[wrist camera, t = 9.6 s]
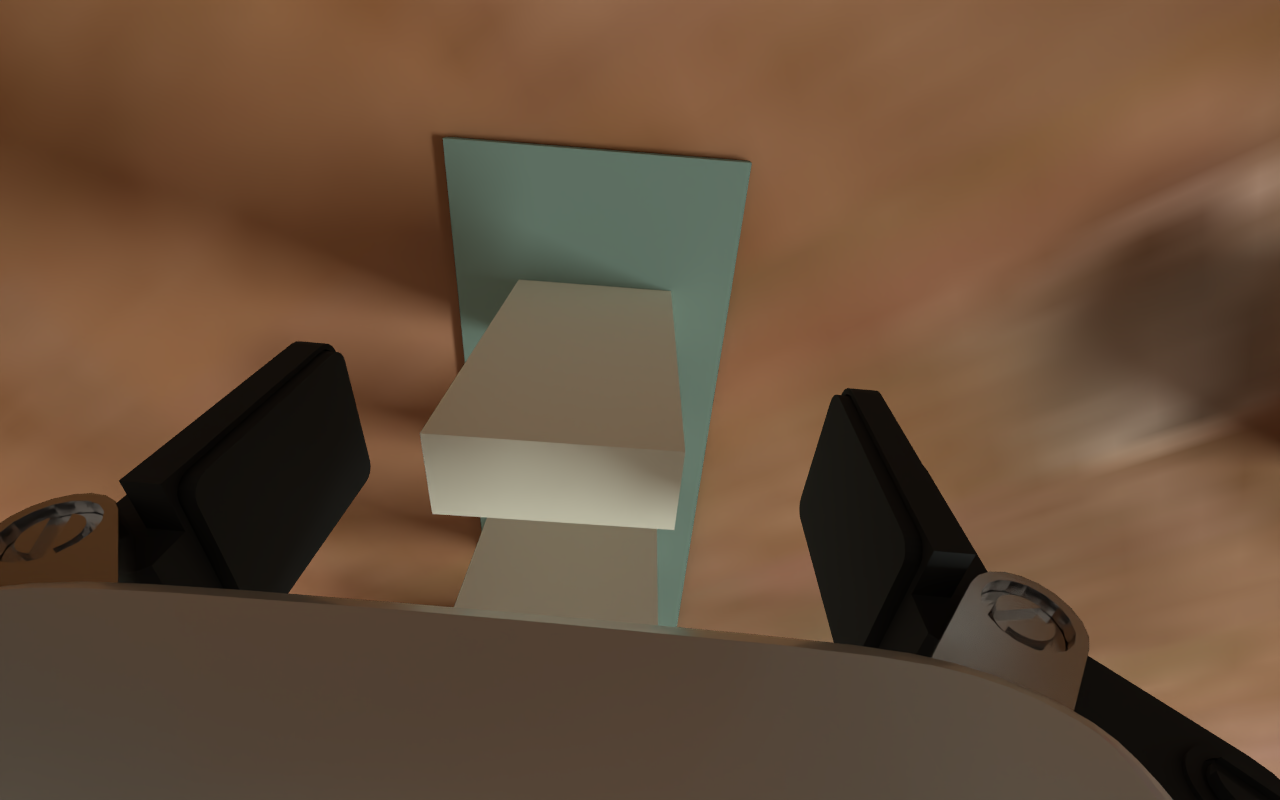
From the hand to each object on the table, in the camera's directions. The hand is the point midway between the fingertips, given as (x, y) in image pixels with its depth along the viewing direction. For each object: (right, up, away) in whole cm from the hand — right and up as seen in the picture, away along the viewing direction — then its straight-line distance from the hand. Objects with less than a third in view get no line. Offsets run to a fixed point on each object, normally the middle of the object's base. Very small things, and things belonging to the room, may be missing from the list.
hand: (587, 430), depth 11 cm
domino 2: (-1, -1, +11) cm, 11 cm away
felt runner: (-1, -6, +14) cm, 15 cm away
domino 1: (0, +3, +8) cm, 9 cm away
